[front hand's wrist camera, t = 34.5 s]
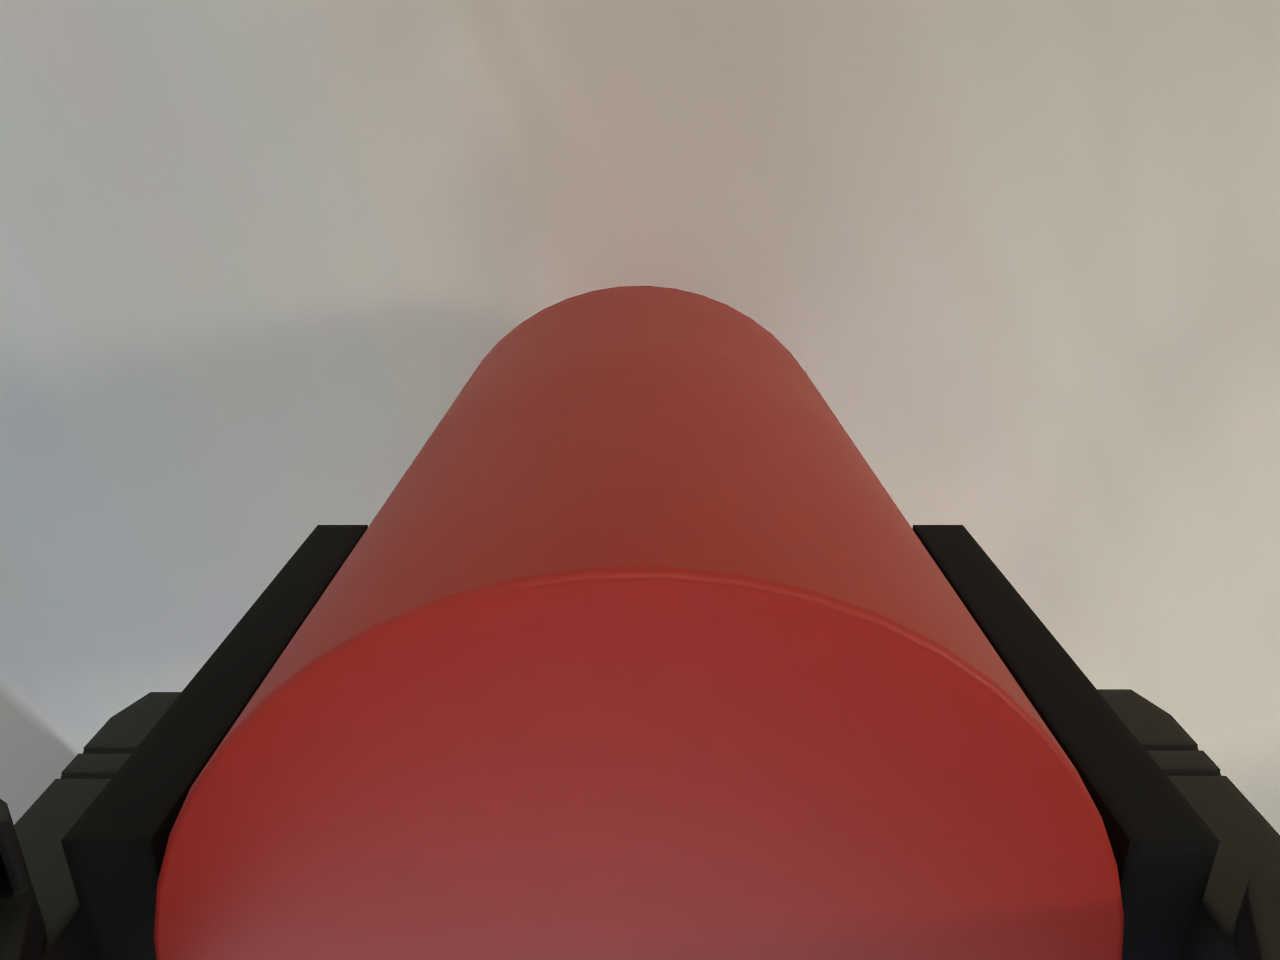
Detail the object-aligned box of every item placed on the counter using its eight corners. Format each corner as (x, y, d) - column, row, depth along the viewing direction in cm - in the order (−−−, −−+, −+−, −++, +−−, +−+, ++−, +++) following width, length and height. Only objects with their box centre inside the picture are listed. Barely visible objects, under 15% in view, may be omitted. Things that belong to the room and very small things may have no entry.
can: (914, 457, 19) (1332, 955, 8) (661, 709, 21) (686, 1385, 10) (612, 195, 17) (556, 328, 6) (369, 503, 19) (-22, 1042, 8)
